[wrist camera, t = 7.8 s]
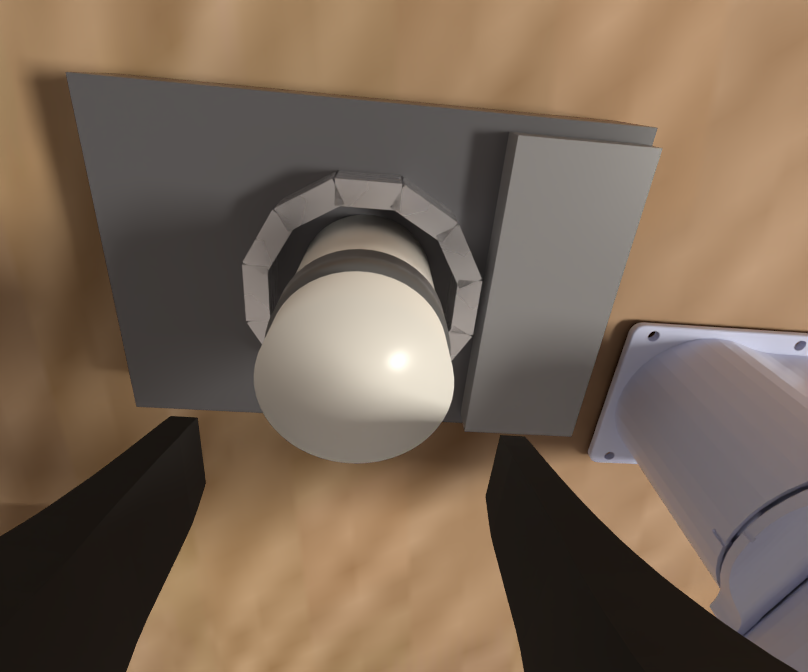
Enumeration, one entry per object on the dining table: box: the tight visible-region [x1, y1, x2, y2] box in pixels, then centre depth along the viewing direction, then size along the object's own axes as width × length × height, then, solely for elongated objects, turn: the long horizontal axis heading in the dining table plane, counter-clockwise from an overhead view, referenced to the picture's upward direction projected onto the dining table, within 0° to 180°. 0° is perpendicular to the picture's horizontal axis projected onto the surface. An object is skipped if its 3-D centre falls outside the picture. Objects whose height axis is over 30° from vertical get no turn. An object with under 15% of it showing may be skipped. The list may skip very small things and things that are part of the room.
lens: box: [254, 215, 454, 463], centre depth 14 cm, size 5×5×7 cm
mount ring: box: [242, 170, 482, 361], centre depth 17 cm, size 8×8×2 cm
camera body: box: [66, 72, 662, 437], centre depth 18 cm, size 18×12×4 cm, turn 85°
